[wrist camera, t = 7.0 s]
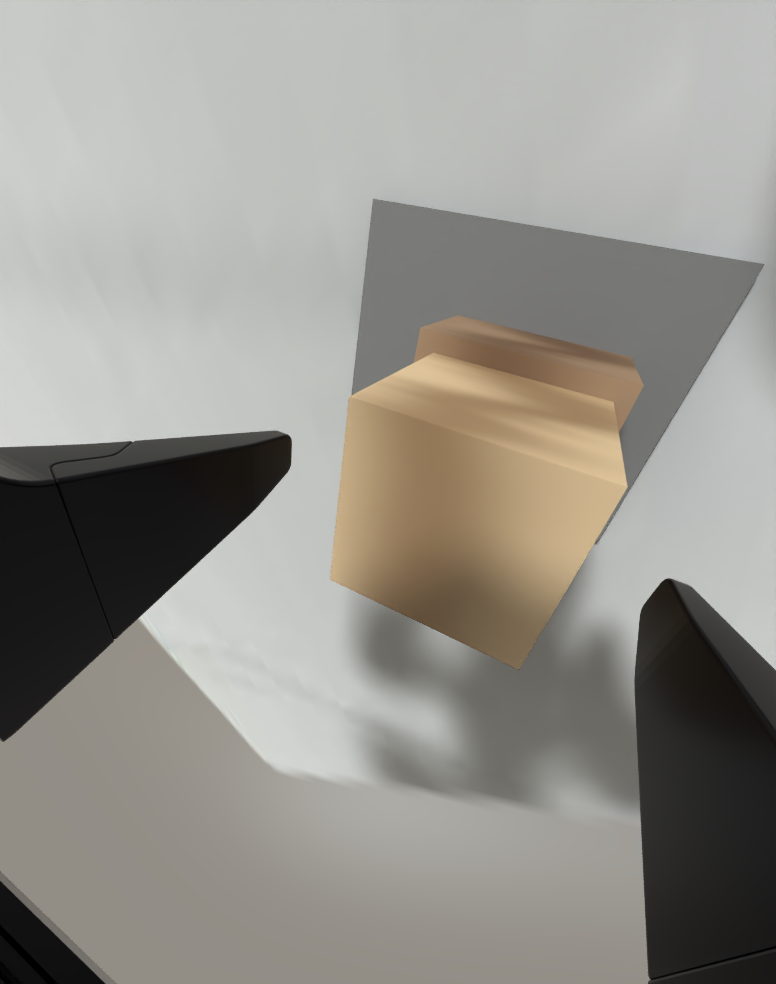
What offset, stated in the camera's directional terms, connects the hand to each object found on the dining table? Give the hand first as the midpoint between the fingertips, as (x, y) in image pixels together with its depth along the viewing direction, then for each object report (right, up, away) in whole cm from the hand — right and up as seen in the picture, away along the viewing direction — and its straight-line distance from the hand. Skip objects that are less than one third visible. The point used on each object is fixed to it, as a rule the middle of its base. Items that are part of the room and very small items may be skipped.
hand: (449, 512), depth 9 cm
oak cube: (+2, +2, +3) cm, 4 cm away
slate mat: (+3, +5, +6) cm, 8 cm away
